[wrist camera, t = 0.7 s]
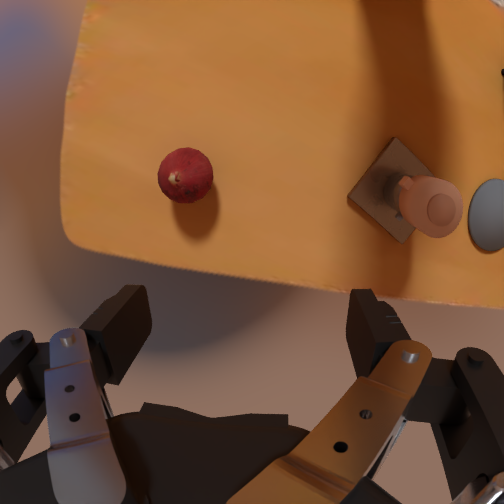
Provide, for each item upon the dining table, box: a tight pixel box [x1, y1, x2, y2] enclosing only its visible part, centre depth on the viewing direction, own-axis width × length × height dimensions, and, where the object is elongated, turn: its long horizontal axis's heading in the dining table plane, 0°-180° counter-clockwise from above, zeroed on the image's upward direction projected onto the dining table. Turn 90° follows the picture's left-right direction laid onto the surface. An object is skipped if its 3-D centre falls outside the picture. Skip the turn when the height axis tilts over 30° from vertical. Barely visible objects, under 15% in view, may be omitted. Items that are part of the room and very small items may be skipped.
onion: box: [158, 147, 213, 203], centre depth 32 cm, size 6×6×8 cm
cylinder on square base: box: [347, 137, 436, 244], centre depth 31 cm, size 9×9×7 cm
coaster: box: [468, 179, 504, 251], centre depth 34 cm, size 10×10×1 cm
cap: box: [398, 175, 463, 238], centre depth 26 cm, size 5×7×5 cm
